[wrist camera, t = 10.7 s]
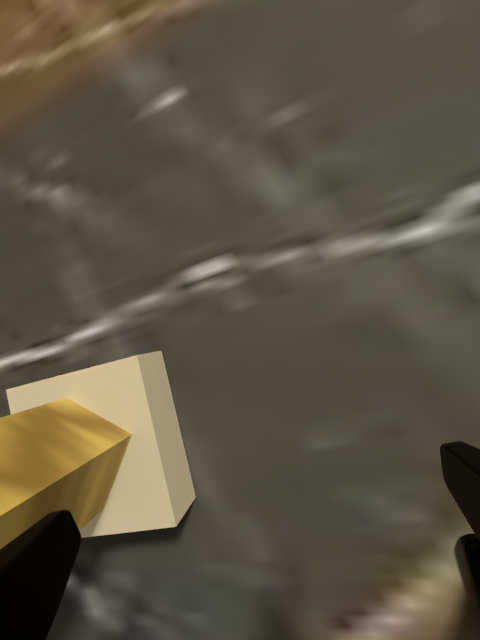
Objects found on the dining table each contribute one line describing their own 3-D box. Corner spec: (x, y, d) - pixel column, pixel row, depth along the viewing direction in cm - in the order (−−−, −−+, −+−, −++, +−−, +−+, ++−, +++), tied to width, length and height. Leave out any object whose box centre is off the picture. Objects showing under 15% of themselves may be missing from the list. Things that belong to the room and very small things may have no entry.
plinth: (195, 497, 20) (176, 526, 17) (72, 514, 23) (36, 542, 20) (161, 350, 21) (136, 355, 18) (44, 381, 23) (6, 389, 20)
